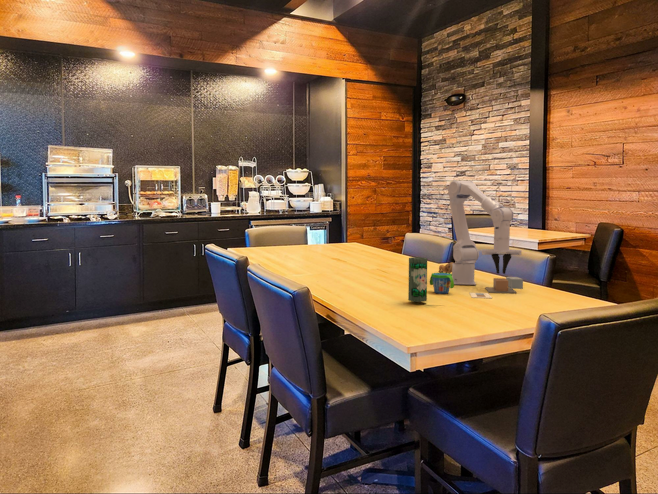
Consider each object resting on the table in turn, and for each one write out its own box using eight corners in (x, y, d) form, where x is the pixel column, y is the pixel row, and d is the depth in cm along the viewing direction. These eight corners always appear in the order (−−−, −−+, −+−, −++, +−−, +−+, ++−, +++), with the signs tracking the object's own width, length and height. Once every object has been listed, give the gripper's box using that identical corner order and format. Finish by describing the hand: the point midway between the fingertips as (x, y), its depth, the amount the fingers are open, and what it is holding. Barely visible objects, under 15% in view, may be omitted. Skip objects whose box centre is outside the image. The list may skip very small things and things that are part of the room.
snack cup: (424, 291, 194) (424, 272, 193) (439, 290, 197) (440, 271, 197) (442, 296, 184) (443, 276, 183) (459, 294, 187) (459, 274, 186)
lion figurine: (457, 277, 232) (457, 262, 232) (450, 278, 230) (450, 262, 229) (439, 274, 242) (439, 260, 242) (432, 275, 240) (432, 260, 239)
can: (415, 302, 171) (415, 259, 170) (405, 299, 177) (406, 257, 176) (429, 301, 174) (430, 258, 173) (419, 298, 179) (420, 257, 178)
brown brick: (495, 290, 191) (496, 280, 191) (493, 288, 198) (493, 278, 197) (508, 291, 190) (508, 280, 190) (505, 288, 197) (505, 278, 197)
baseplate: (488, 292, 190) (489, 291, 190) (485, 288, 200) (485, 287, 200) (516, 293, 188) (516, 291, 188) (511, 289, 198) (511, 287, 198)
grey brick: (511, 289, 200) (511, 279, 200) (505, 286, 207) (506, 276, 207) (522, 289, 200) (523, 279, 200) (516, 286, 207) (516, 276, 207)
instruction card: (472, 297, 180) (472, 296, 180) (469, 293, 189) (469, 292, 189) (492, 298, 178) (492, 297, 178) (488, 293, 188) (488, 292, 188)
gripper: (483, 239, 190) (482, 274, 191) (523, 239, 187) (522, 275, 188) (481, 238, 197) (480, 271, 198) (519, 238, 194) (518, 272, 195)
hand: (500, 273), depth 194 cm, fingers closed
